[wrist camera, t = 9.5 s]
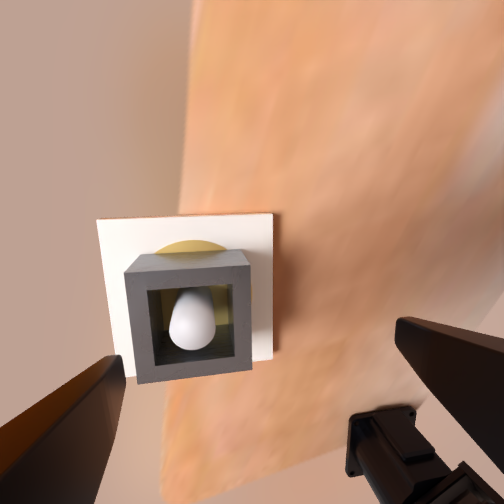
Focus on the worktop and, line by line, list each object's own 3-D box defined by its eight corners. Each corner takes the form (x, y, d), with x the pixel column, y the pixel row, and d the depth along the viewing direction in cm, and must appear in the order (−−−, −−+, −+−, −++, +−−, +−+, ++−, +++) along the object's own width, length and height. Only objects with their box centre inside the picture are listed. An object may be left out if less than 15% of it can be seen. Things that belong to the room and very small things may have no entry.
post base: (269, 351, 22) (291, 402, 17) (122, 369, 20) (95, 432, 15) (269, 212, 20) (294, 221, 14) (102, 218, 18) (60, 230, 13)
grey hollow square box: (242, 335, 20) (252, 369, 16) (150, 344, 19) (137, 384, 15) (240, 249, 19) (250, 264, 15) (140, 254, 18) (123, 272, 14)
